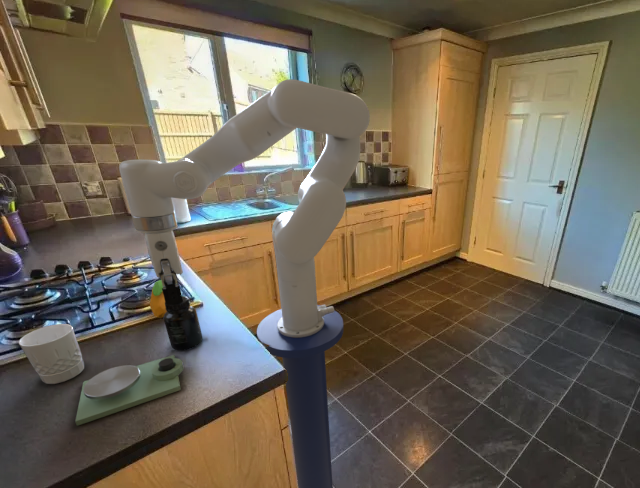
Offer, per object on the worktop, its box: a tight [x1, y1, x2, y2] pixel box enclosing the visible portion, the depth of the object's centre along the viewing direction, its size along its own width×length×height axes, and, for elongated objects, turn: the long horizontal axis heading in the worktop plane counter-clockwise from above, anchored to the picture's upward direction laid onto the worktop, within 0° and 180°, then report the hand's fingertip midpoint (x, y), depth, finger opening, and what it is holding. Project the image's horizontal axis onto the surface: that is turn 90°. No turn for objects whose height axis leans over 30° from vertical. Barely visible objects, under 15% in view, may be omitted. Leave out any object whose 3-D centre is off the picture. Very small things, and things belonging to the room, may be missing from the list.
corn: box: [149, 279, 167, 319], centre depth 94 cm, size 7×8×20 cm
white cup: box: [18, 323, 85, 385], centre depth 68 cm, size 8×8×10 cm
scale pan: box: [83, 364, 141, 400], centre depth 64 cm, size 9×9×1 cm
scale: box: [74, 354, 184, 426], centre depth 67 cm, size 17×12×2 cm
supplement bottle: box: [162, 295, 203, 352], centre depth 78 cm, size 7×7×12 cm
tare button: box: [159, 358, 175, 372], centre depth 69 cm, size 3×3×2 cm
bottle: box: [172, 198, 192, 224], centre depth 179 cm, size 8×8×30 cm
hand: (172, 294), depth 75 cm, fingers open, 9 cm apart
